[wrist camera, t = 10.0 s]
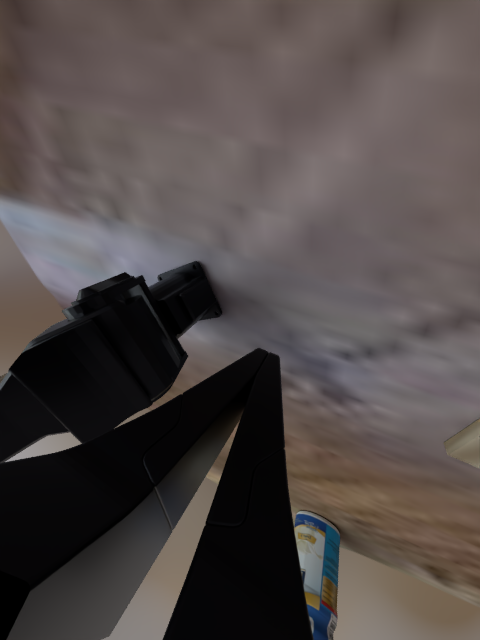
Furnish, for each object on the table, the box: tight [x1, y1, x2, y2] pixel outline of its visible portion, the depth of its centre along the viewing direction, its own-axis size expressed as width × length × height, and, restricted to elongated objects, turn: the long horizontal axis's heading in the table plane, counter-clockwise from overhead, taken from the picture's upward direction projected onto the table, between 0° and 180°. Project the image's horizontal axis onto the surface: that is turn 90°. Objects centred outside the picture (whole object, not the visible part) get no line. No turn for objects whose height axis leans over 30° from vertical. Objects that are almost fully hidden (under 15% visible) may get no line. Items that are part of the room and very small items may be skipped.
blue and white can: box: [294, 511, 340, 640], centre depth 34 cm, size 8×8×20 cm
